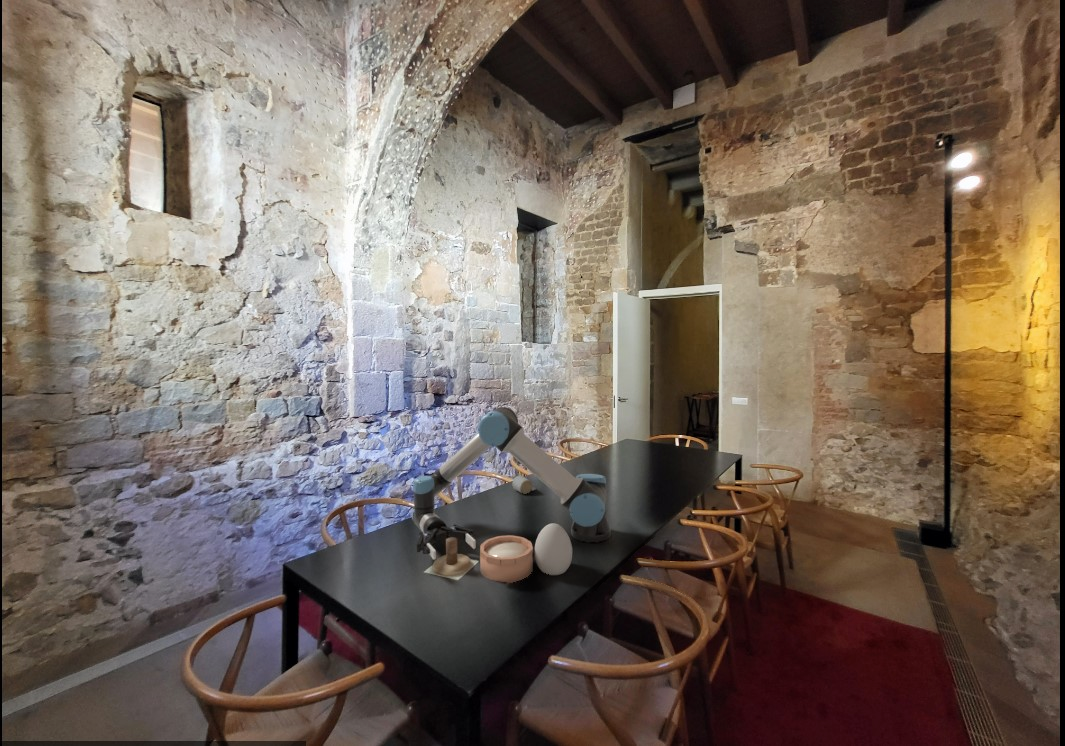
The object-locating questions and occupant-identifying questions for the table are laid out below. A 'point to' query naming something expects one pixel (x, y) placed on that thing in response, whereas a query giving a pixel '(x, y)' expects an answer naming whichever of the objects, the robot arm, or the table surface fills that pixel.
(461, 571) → the oak lid
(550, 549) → the decorative egg
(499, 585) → the table surface
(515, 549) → the terracotta bowl
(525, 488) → the ceramic mug
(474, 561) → the sage mat
